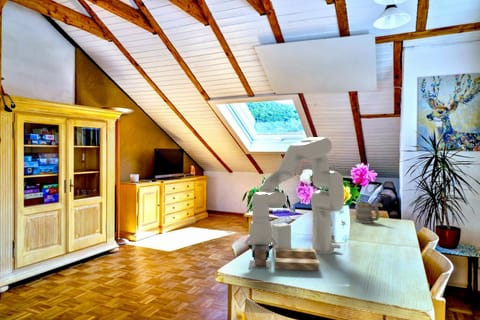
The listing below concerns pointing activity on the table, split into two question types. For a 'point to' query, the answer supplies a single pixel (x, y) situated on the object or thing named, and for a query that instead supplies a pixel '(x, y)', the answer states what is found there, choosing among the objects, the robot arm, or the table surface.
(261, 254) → the block
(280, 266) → the wooden tray
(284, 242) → the skincare box
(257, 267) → the coaster
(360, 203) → the tankard
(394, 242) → the table surface
